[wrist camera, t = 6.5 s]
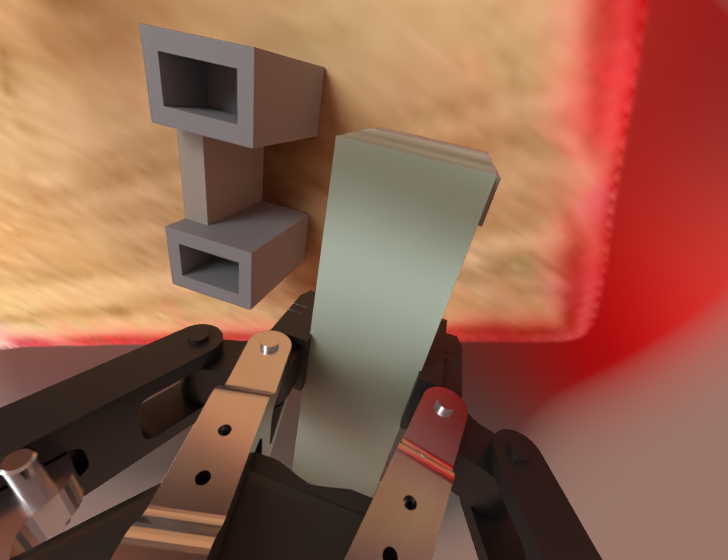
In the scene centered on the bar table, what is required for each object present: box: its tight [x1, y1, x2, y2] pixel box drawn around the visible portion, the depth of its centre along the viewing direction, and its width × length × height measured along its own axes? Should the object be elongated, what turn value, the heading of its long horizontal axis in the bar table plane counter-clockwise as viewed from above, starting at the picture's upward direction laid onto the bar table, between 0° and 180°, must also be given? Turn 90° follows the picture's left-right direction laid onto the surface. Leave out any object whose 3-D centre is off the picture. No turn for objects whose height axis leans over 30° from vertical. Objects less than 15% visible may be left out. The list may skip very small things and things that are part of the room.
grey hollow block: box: [139, 23, 325, 310], centre depth 26 cm, size 17×7×10 cm, turn 169°
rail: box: [292, 127, 501, 498], centre depth 13 cm, size 14×4×6 cm, turn 169°
